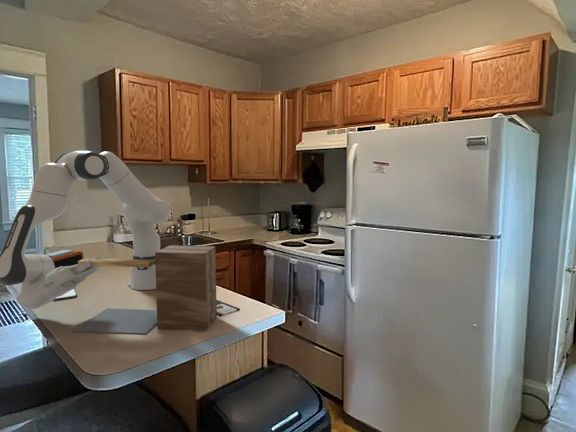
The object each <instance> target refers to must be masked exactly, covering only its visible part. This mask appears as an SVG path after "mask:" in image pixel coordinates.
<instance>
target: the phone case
mask: <svg viewBox="0 0 576 432" xmlns="http://www.w3.org/2000/svg"><path fill="white" fill-rule="evenodd" d="M76 298H78V294H77V291H76V287H75V288H74V289H72V290H71V291H69V292H67V293H65V294H64V295H62V296H59V297H56V298H55V299H54V300H53V301H52V302H56V301H55V300H59V301H64V299H65V300H70V299H76Z"/></svg>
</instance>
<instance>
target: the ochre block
mask: <svg viewBox="0 0 576 432" xmlns="http://www.w3.org/2000/svg"><path fill="white" fill-rule="evenodd" d="M89 260H91V262H92V263H93V265H91V266H101V267H121V268H123V267H125V268H127V267H128V268H129V267H130V268H131V267H150V266H152V265H154V260H133V258H132V259H129V258H127V259H123V258H122V259H121V258H101V259H93V258H84V259H82V260H80V261H78V265H81V264H83V263H85V262H87V261H89Z"/></svg>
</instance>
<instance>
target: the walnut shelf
mask: <svg viewBox="0 0 576 432" xmlns="http://www.w3.org/2000/svg"><path fill="white" fill-rule="evenodd" d="M216 250H217V249H216V245H214V246H213V245H167V246H166V247H164V248H160V250H159V251H157V252H155V270H156V289H155V292H156V294H155V296H156V298H155V299H156V310H157V325H156V326H157V330H160V331H164V330H165V331H185V330H192V331H191V332H207V331H208V330H209V329H210V327H211V326H212V325H211V324H213V323H214V322H215V321H216V319H217V318H218V316H217V304H216V300H217V263H216V262H217V260H216V259H217V258H216V254H217V253H216V252H217V251H216ZM216 317H217V318H216ZM213 321H214V322H213ZM210 325H211V326H210ZM208 328H209V329H208ZM195 330H196V331H195Z"/></svg>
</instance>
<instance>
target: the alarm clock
mask: <svg viewBox="0 0 576 432" xmlns="http://www.w3.org/2000/svg"><path fill="white" fill-rule="evenodd" d="M45 255H48V256H49V257H51V259H52V260H53V262H54V264H55V268H58V267H60V266H64V267H65V266H72V265H76V264H78V261H80V260H82V259H85V258H84V252H83V251H81V250H73V249H62V250H59V251H55V252H51V253H46V254H45Z"/></svg>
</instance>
